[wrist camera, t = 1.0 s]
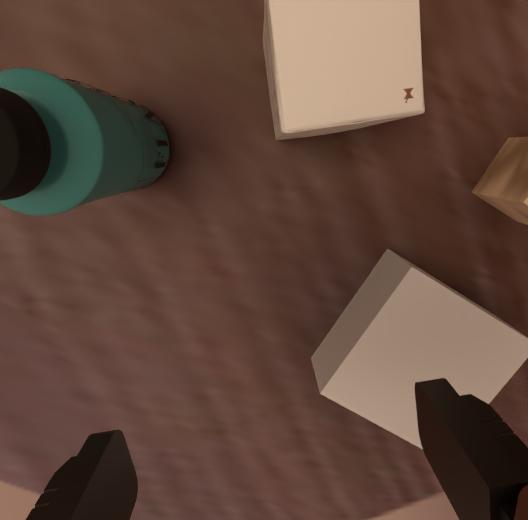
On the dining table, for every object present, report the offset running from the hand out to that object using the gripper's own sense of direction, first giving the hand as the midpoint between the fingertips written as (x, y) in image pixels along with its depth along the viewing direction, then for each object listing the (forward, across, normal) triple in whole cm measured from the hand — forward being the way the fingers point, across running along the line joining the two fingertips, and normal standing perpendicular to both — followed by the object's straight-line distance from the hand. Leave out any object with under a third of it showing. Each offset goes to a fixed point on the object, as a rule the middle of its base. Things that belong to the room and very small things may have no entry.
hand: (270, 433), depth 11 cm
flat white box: (+25, -11, +11) cm, 29 cm away
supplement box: (+25, -6, -11) cm, 28 cm away
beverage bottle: (+25, +9, -9) cm, 28 cm away
